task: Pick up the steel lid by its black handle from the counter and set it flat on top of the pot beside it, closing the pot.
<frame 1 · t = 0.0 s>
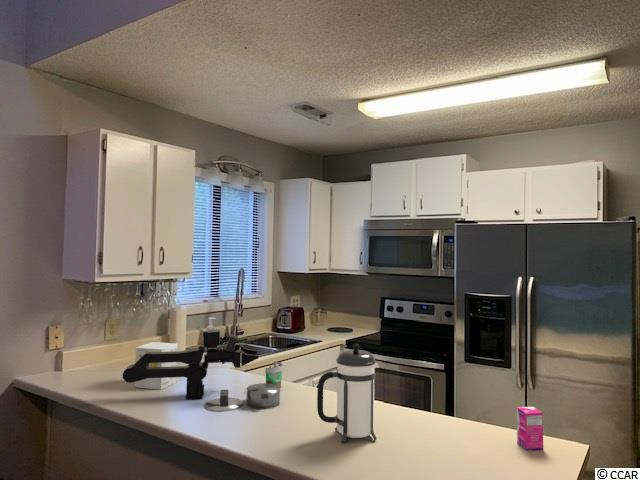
hand: (257, 354, 197), 17 cm above the worktop, tool horizontal, fingers open, 9 cm apart
supplement box: (529, 447, 147), on the worktop
lid: (224, 406, 182), on the worktop
pot: (263, 403, 185), on the worktop
food container: (276, 388, 206), on the worktop
coffee press: (351, 437, 153), on the worktop
supplement box 2: (156, 385, 209), on the worktop
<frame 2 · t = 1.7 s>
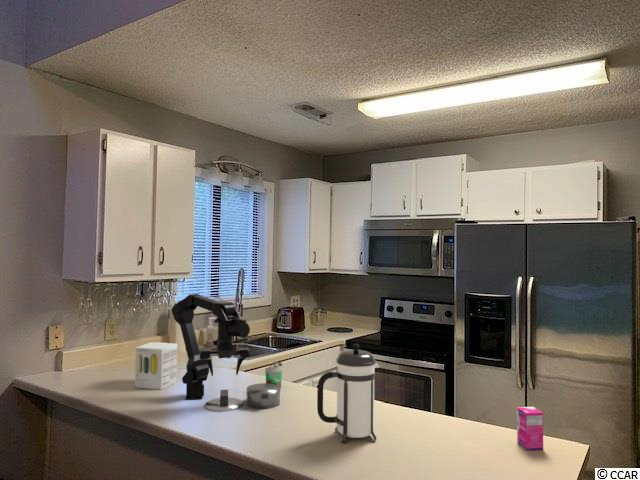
hand: (224, 375, 183), 11 cm above the worktop, tool pointing down, fingers open, 9 cm apart
nothing on the worktop moved.
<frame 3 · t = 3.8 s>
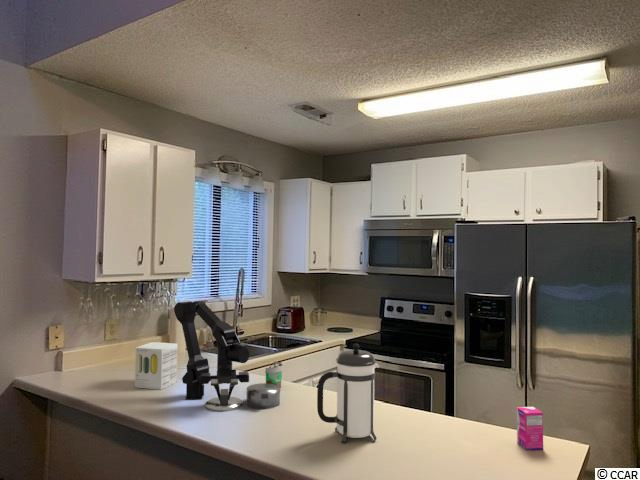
hand: (224, 400, 183), 2 cm above the worktop, tool pointing down, fingers closed on lid, 3 cm apart
lid: (224, 405, 182), on the worktop, touching gripper
everything else where it was.
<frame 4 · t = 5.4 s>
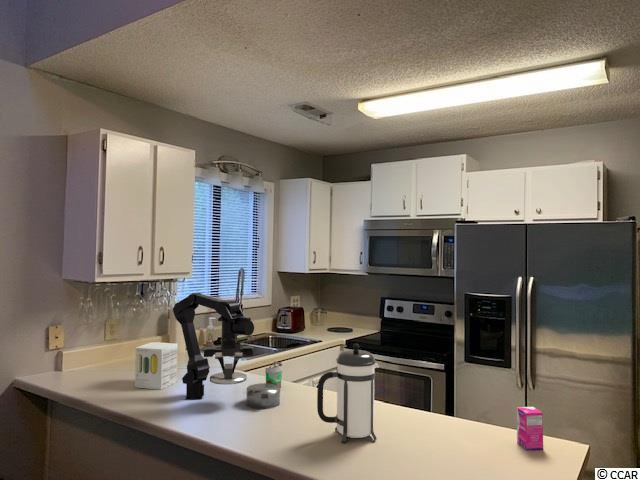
hand: (228, 373, 183), 12 cm above the worktop, tool pointing down, fingers closed on lid, 3 cm apart
lid: (228, 379, 183), point 10 cm above the worktop, touching gripper
everything else where it was.
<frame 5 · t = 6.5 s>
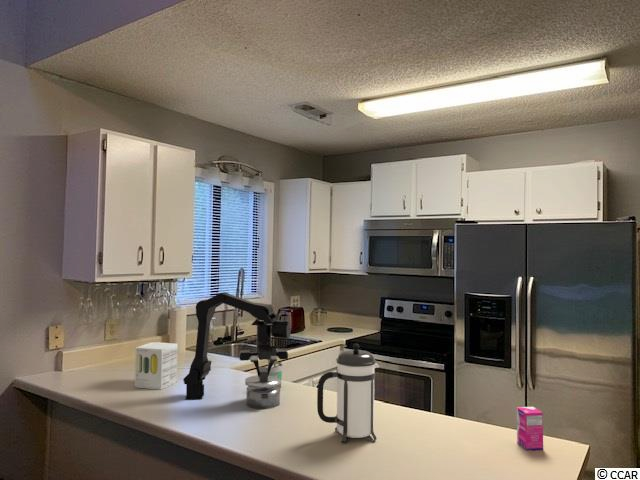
hand: (263, 376, 185), 10 cm above the worktop, tool pointing down, fingers closed on lid, 3 cm apart
lid: (263, 382, 185), point 8 cm above the worktop, touching gripper
everything else where it was.
when the fingers open (9 cm above the worktop, at t = 7.3 s): lid stays where it is, resting on pot.
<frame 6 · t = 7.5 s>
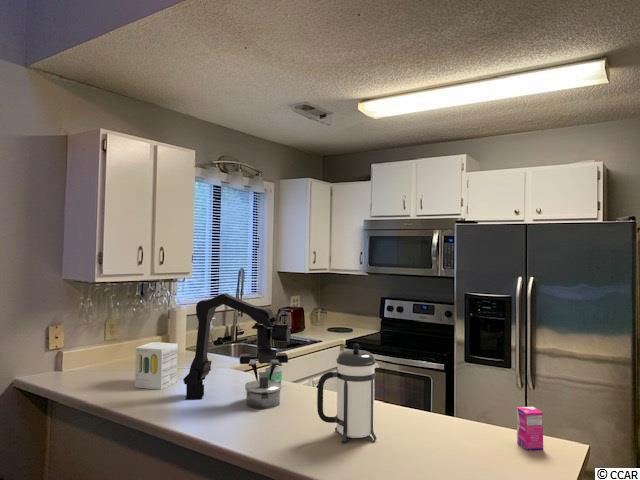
hand: (263, 380, 185), 9 cm above the worktop, tool pointing down, fingers open, 5 cm apart
lid: (263, 388, 185), point 6 cm above the worktop, touching pot
everything else where it was.
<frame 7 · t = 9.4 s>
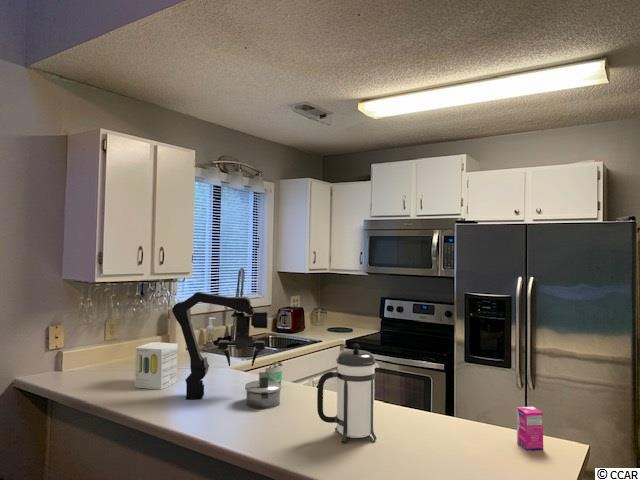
hand: (240, 366, 193), 13 cm above the worktop, tool pointing down, fingers open, 9 cm apart
nothing on the worktop moved.
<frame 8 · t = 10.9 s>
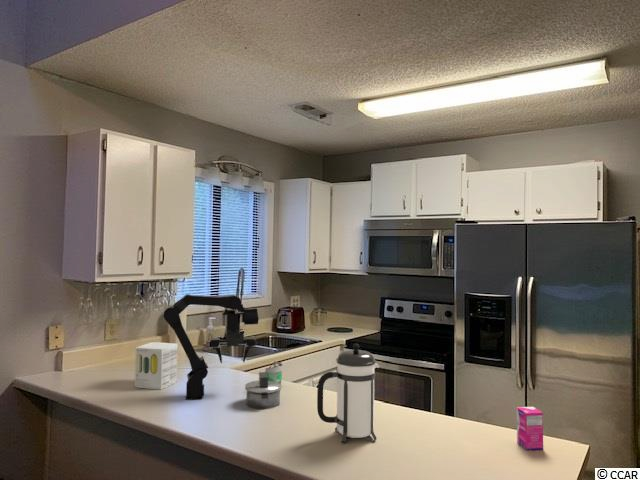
hand: (232, 362, 197), 13 cm above the worktop, tool pointing down, fingers open, 9 cm apart
nothing on the worktop moved.
at the end: lid 0.1 cm from the pot (horizontally); lid point 6.0 cm above the worktop; lid tilted 0° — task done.
